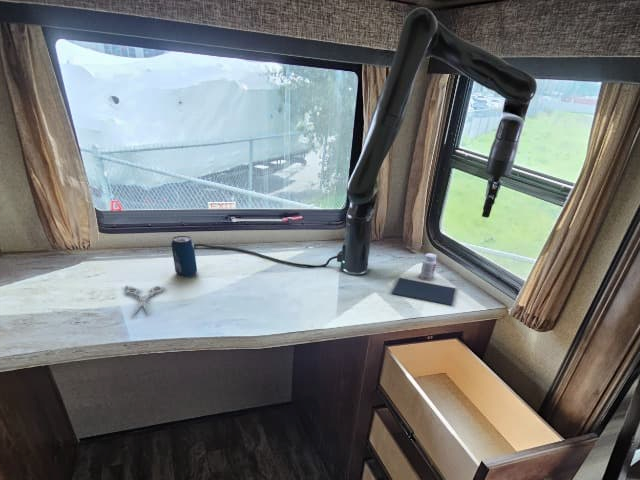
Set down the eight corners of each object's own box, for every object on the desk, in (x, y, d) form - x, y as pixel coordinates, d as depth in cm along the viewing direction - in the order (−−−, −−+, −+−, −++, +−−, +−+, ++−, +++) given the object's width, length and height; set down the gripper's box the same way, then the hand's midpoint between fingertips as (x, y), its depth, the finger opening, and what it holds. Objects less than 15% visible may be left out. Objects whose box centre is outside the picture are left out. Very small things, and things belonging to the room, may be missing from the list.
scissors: (162, 283, 136) (160, 312, 121) (162, 286, 137) (161, 315, 122) (125, 285, 133) (119, 315, 118) (126, 288, 134) (120, 318, 119)
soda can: (199, 270, 149) (195, 235, 141) (194, 278, 143) (190, 242, 136) (179, 269, 148) (173, 234, 141) (173, 277, 143) (167, 241, 135)
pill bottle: (432, 280, 156) (437, 258, 151) (419, 279, 157) (424, 256, 152) (433, 275, 160) (437, 253, 155) (420, 274, 160) (424, 251, 155)
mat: (391, 294, 144) (392, 292, 144) (399, 278, 155) (399, 277, 155) (451, 305, 141) (451, 304, 140) (455, 289, 151) (455, 288, 151)
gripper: (489, 151, 133) (474, 206, 142) (488, 158, 122) (472, 217, 131) (514, 155, 131) (497, 210, 141) (515, 162, 120) (497, 221, 130)
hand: (485, 213), depth 136 cm, fingers open, 8 cm apart
